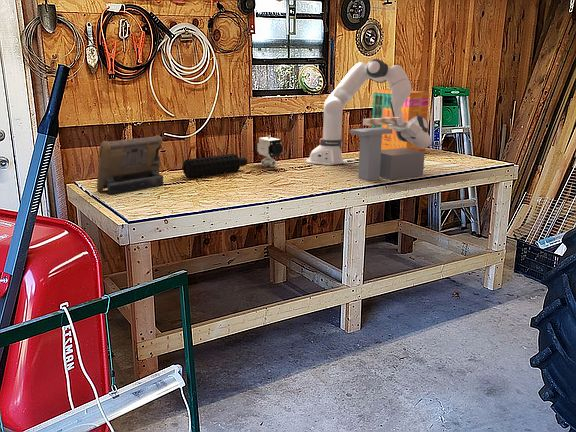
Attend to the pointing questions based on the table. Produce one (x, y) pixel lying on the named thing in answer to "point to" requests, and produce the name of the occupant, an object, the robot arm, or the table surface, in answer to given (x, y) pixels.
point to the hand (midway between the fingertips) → (392, 119)
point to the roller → (212, 165)
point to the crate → (401, 163)
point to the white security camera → (269, 150)
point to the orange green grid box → (410, 109)
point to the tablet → (129, 165)
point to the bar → (380, 121)
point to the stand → (370, 151)
